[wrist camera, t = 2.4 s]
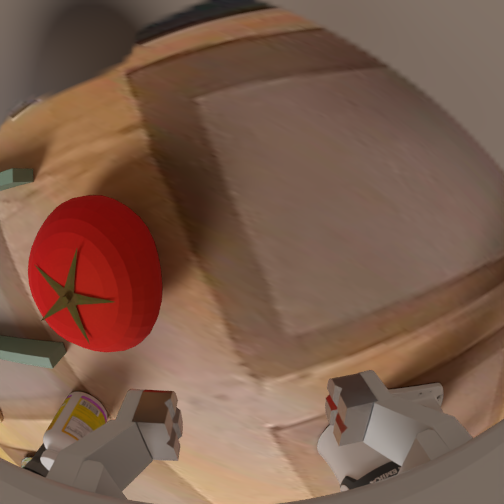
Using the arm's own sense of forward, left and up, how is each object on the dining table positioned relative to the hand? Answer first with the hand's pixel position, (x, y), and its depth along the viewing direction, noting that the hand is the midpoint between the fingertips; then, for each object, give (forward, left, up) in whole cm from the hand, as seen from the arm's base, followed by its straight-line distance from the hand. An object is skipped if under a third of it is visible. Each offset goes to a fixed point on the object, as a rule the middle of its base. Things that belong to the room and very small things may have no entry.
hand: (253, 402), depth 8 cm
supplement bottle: (+23, +21, -21) cm, 38 cm away
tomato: (+13, 0, -21) cm, 25 cm away
